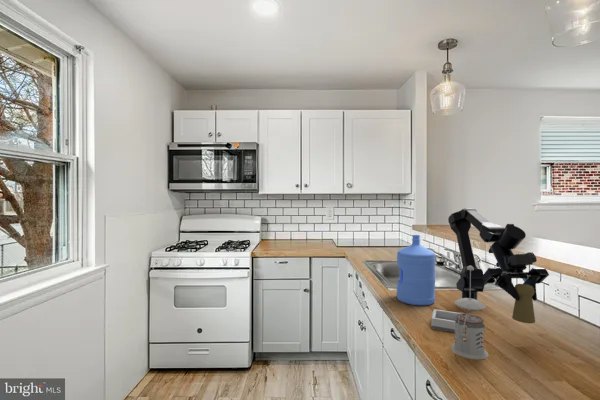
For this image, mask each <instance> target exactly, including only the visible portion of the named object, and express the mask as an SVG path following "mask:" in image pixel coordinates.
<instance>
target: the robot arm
mask: <svg viewBox="0 0 600 400" xmlns="http://www.w3.org/2000/svg"><path fill="white" fill-rule="evenodd" d="M447 220H448V224H449V226H450V229H451V231H452V232H454V234H455V236H456V240H457V245H458V250H459V254H460V260H461V265H462V269H461V271H460V273H459V279H458V281H457V282H456V284H455V285H456V289H457V290H458V291H459V292H461V299H462V298H472V299H475V300H478V297H479V296H478V295H479V293H484V288H485V285H486V284H494V285H495V286H497V287H499V288H500V289H502V290H503V291H504V292H506V293H507V294H508V295H510V296H511V297H512V298H513V299H514V300H515V299H516V300H517V301H518V300H519V296H518V293H517V291H516V289H515V286H514V285H515V284H513V279H522V281H523V283H522V284H527V285H530V286H532V287H533V288H534V295H533V296H532V300H533V301H534V302H535V301H537V300H538V298H537V297H538V296H537V284H541V283H542V282H543V281H544V280H545V279H546V278H548V277H549V276H550V274H549V272H548V270H547V268H543V267H532V268H531V269H530V270H529V271H526V272H525V271H524V270H527V268H528V267H527V266H532V265H533V264H534V263H537V261H538V260H537V257H536V255H535V253H534V252H525V253H516V254H515V253H514V251H513V250H515V249H517V248H518V247H519V245H520V244H521V243H522V242H523V240H524V239H526V236H527V235H526V232H525V230H523V229H521V228H520V227H518V226H517V225H516V226H515V224H514V223H507V224H506V225H505V227H503V226H501V225H499V224H496V223H493V222H490V220H488V219H487V218H485V217H484V216H483V215H482V214H481V213H479V212H478V210H477V209H475V208H473V207H472V208H466V207H464V208H462V209H461V210H457V211H456V212H453V213H451V214H450V215H449V216H448V219H447ZM472 226H473V227H474V228H475V229H476V230H477V231H479V237H480V238H481V240H482V241H483V242H484V243H492V244H491V245H490V246H489V249H488V253H489V254H493V256H494V258H495V260H496V264H495V266H496V267H488V268H487V270H485V271H483V269H482V268H479V267H478V266H477V264H476V260H475V255H474V251H473V246H472V243H471V238H470V230H471V228H472ZM468 266H472V267H474V270H471V295H470V270H467V267H468ZM478 292H479V293H478Z"/></svg>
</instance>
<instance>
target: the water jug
mask: <svg viewBox="0 0 600 400" xmlns="http://www.w3.org/2000/svg"><path fill="white" fill-rule="evenodd" d="M420 238H421V235H419V234H412V238H411V241H412V242H411V243H412V244H411V245H407V246H405V247H403V248H401V249H399V250H398V251H397V254H396V260H397V264H396V265H397V267H398V268H399V279H398V281H397V282H396V298H397V300H399V302H402V303H404V304H408V305H413V306H430V305H433V304H434V303H435V302H436V294H435V293H436V253H435V252H434V251H432V250H431V249H428V248H426V246H425V247H424V246H422V245H421V243H420V242H421V239H420Z"/></svg>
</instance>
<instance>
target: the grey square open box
mask: <svg viewBox="0 0 600 400" xmlns="http://www.w3.org/2000/svg"><path fill="white" fill-rule="evenodd" d="M460 313H461V312H458V311H457V312H455V311H449V310H443V309H442V310H441V309H437V308H433V311H432V316H431V318H430V319H431V329H433V330H439V331H444V332H445V331H446V332H451V333H454V334H455V333H456V332H455V329H456V328H455V320H456V319H457V317H456V316H457V314H460ZM463 313H464V312H462V314H463ZM461 326H463V325H461ZM463 328H464V326H463ZM463 332H464V330H463Z"/></svg>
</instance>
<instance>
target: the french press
mask: <svg viewBox="0 0 600 400" xmlns="http://www.w3.org/2000/svg"><path fill="white" fill-rule="evenodd" d="M467 270H470V295H471V270H474V267H472V266H468V267H467ZM454 305H455V306H457V307H458V308H461V309H464V310H468V313H464V312H463V311H460V312H459V313H460V314H457V316H456V317H457V319H456V320H455V328H456V329H455V332H456V333H455V332H454V343H453V344H452V345H451V347H450V349H451V351H452V352H454V353H455V355H458V356H461V357H463V358H466V359H467V358H468V359H470V360H484V359H487V358H488V357H489V353H488V352H487V350H486V349H485V344H486V343H485V342H484V341H485V340H486V339H485V336H486V335H485V333H486V325H485V323H484V321H485V320H484V319H483V318H482V317H481V316H479V315H475V314H471V311H482V310H485V309H486V305H485V304H484V303H483V302H481V301H480V300H479V299H477V300H475V299H472V298H462V297H461V298H458V299H457V300H455V301H454ZM462 313H463V314H462ZM461 325H463V326H464V328H463V326H461ZM463 330H464V332H463Z"/></svg>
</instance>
